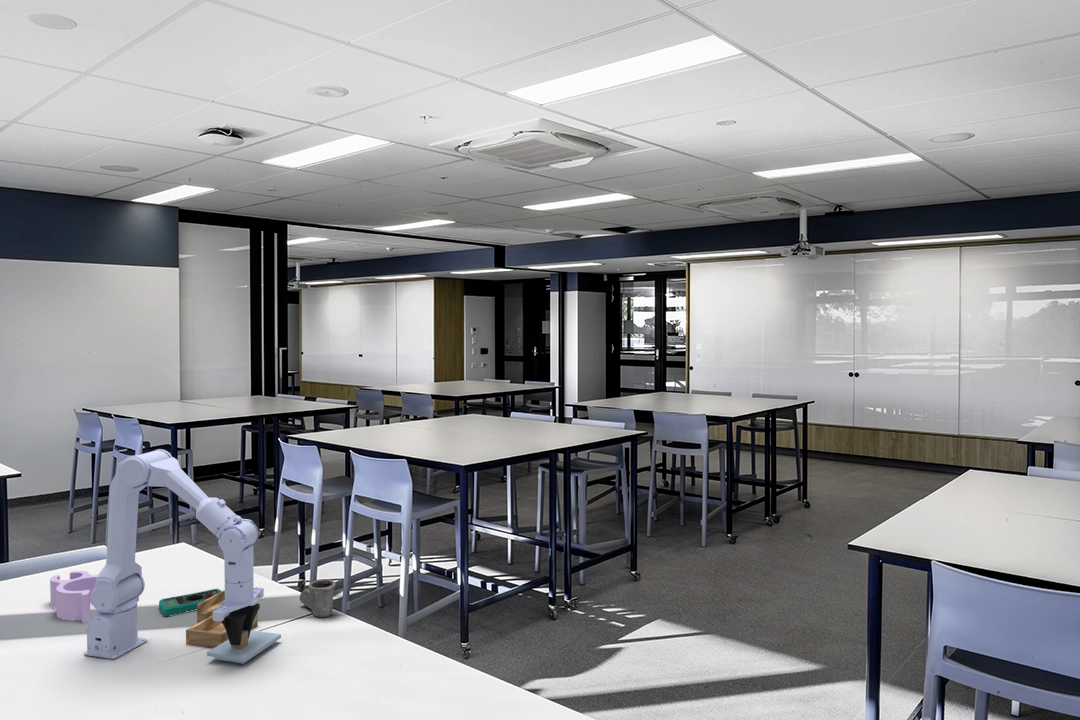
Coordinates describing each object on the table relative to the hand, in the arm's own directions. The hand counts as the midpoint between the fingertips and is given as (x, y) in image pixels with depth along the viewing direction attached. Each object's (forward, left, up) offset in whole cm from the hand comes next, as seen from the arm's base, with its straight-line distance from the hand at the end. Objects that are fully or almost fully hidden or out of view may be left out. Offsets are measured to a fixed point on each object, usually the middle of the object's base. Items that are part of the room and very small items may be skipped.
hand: (239, 641), depth 157 cm
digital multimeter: (+21, +29, -4) cm, 36 cm away
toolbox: (+13, +12, -3) cm, 18 cm away
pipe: (+26, -3, -3) cm, 26 cm away
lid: (+2, 0, -2) cm, 3 cm away
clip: (+13, +54, -4) cm, 56 cm away
